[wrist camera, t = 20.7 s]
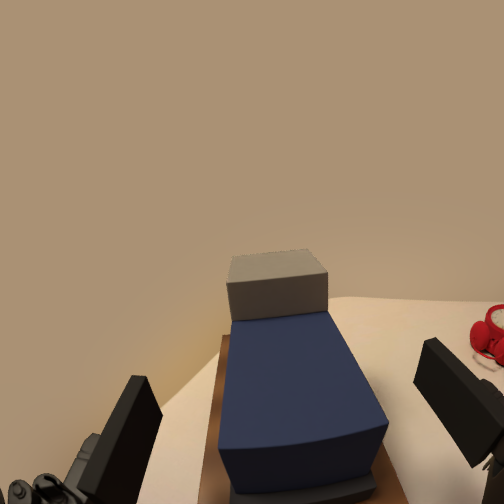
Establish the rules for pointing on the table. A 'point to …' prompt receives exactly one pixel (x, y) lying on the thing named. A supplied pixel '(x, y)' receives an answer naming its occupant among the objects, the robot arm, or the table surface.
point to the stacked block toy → (293, 390)
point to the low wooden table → (216, 478)
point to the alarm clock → (490, 334)
